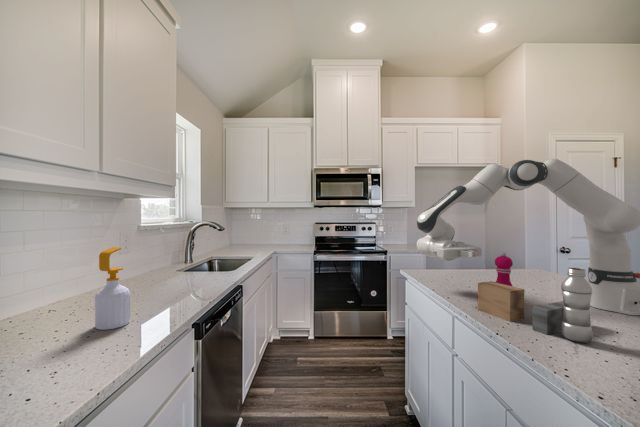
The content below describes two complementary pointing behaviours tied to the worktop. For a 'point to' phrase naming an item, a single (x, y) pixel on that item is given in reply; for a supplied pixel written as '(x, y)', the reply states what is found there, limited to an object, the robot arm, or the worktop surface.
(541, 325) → the charcoal board
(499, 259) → the pepper mill
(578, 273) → the silver metal bottle
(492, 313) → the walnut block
